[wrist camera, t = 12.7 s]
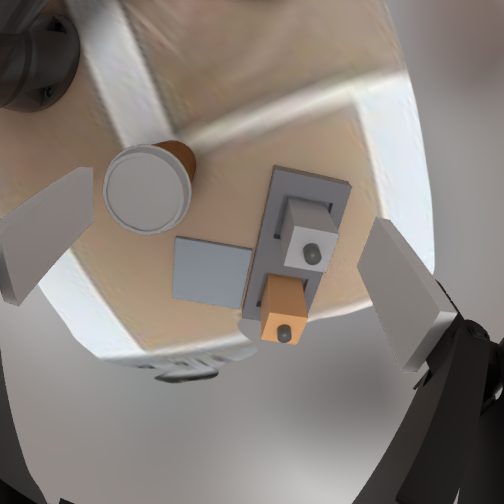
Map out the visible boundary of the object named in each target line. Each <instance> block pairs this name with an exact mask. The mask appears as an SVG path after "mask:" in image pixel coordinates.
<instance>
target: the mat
mask: <svg viewBox="0 0 504 504" xmlns="http://www.w3.org/2000/svg"><path fill="white" fill-rule="evenodd" d="M251 255H252V249H251V248H245V247H239V246H233V245H227V244H222V243H216V242H210V241H204V240H198V239H192V238H187V237H181V236H176V241H175V256H174V273H173V295H172V298H177V299H183V300H188V301H194V302H199V303H205V304H211V305H217V306H223V307H229V308H235V309H240V306H241V301H242V296H243V292H244V287H245V283H246V278H247V273H248V269H249V264H250V259H251Z"/></svg>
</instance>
